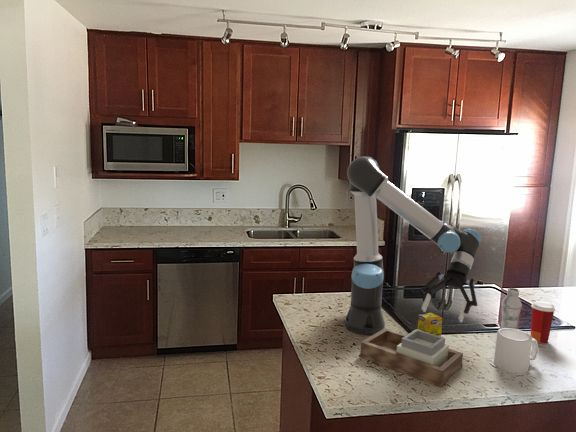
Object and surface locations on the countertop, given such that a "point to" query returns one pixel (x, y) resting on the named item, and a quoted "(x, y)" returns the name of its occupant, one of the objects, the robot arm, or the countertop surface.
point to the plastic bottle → (511, 309)
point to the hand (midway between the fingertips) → (441, 315)
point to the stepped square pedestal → (424, 347)
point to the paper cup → (541, 321)
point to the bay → (408, 358)
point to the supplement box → (430, 323)
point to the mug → (514, 350)
